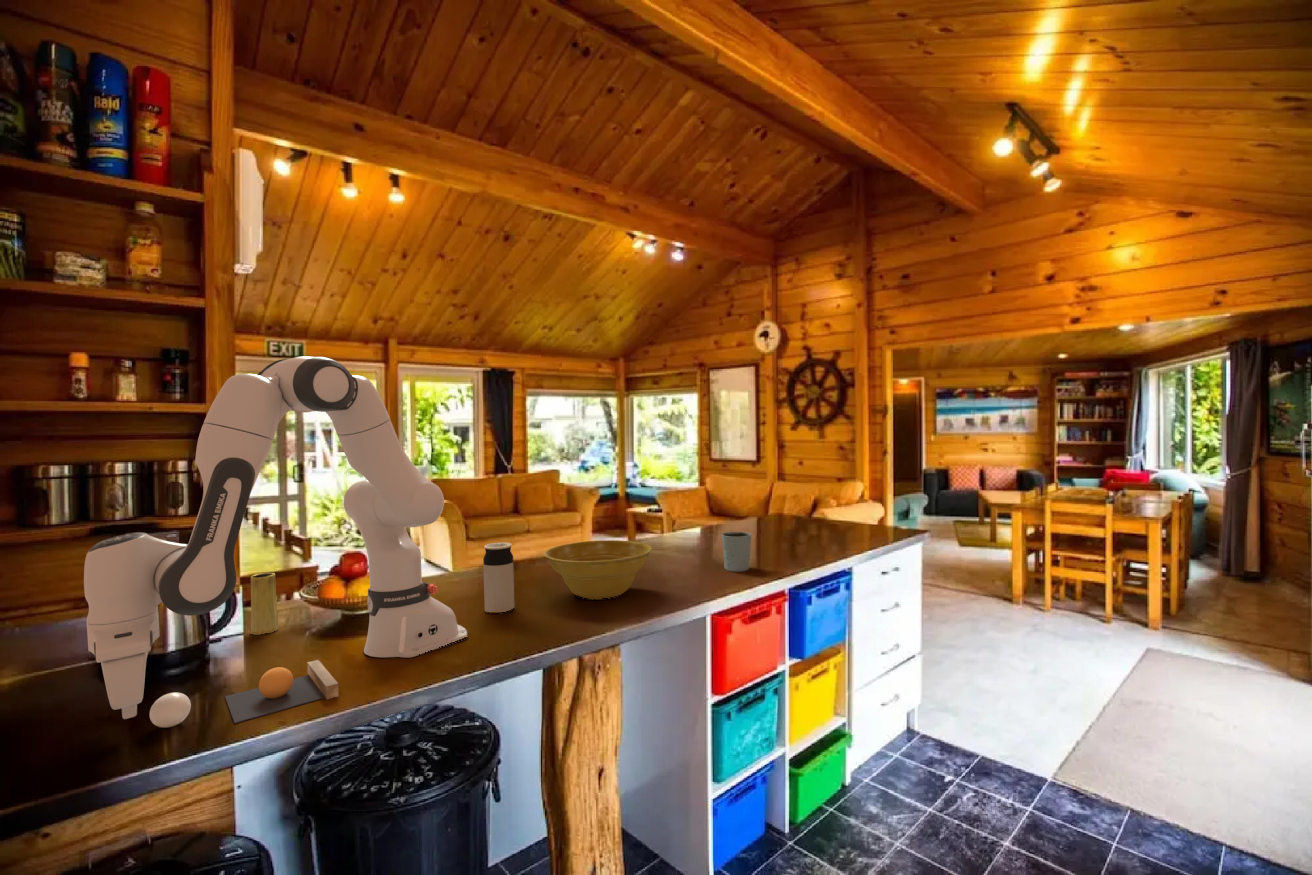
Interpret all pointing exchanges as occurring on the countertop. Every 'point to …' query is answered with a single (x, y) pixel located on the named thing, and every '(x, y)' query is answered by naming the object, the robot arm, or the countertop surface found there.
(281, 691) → the orange egg
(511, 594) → the travel mug
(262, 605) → the vase
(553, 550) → the planter bowl
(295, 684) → the dark gray mat
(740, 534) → the grey cup
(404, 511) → the robot arm
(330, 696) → the pine strip
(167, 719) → the white egg
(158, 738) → the countertop surface
